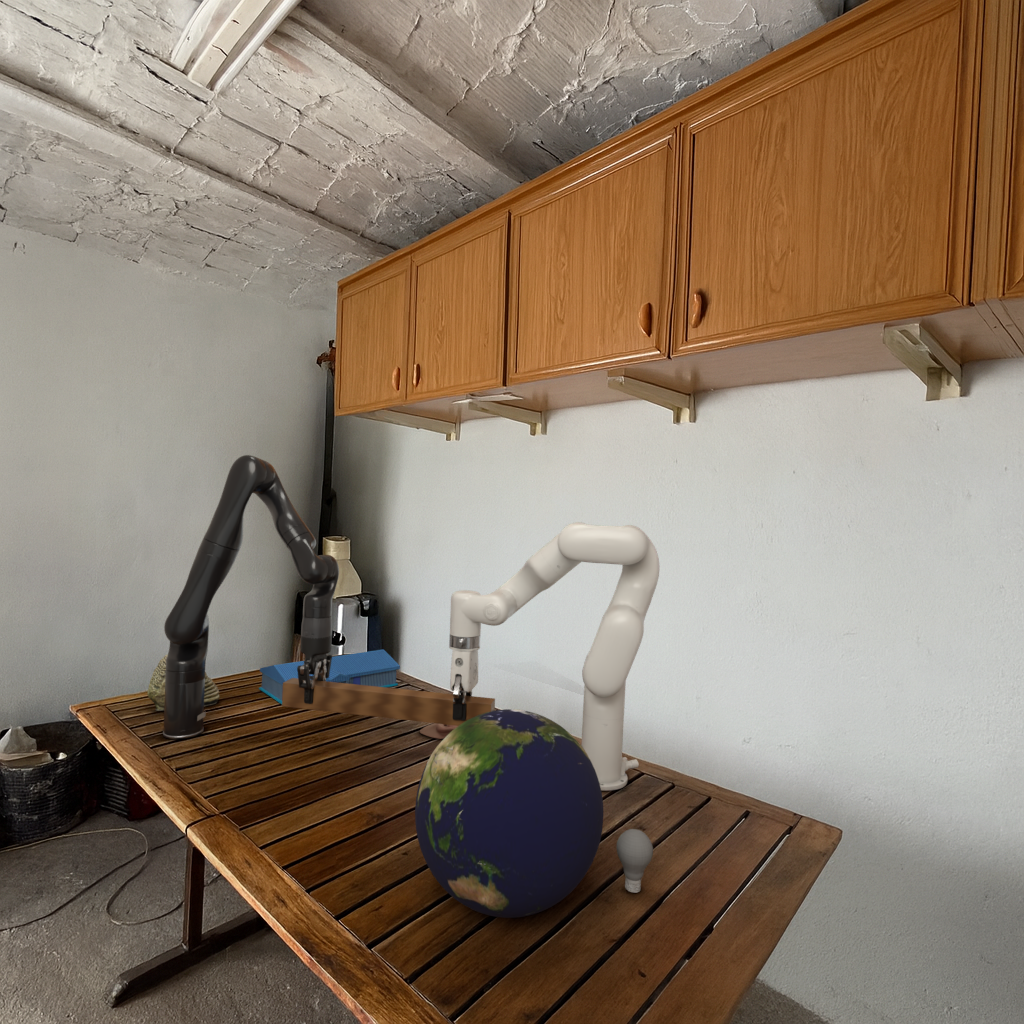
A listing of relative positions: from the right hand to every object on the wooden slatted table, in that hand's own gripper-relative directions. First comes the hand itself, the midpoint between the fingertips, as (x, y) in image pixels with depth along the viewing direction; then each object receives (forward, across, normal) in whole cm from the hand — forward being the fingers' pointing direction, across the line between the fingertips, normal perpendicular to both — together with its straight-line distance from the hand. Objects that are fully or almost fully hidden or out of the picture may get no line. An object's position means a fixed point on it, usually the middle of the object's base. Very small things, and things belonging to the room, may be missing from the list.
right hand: (462, 715), depth 155 cm
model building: (+11, +44, +55) cm, 71 cm away
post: (+2, 0, +20) cm, 20 cm away
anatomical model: (+11, +18, +9) cm, 23 cm away
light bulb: (+12, -43, -41) cm, 60 cm away
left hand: (0, 0, +39) cm, 39 cm away
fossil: (+11, +15, +88) cm, 89 cm away
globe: (+11, -50, -21) cm, 56 cm away
